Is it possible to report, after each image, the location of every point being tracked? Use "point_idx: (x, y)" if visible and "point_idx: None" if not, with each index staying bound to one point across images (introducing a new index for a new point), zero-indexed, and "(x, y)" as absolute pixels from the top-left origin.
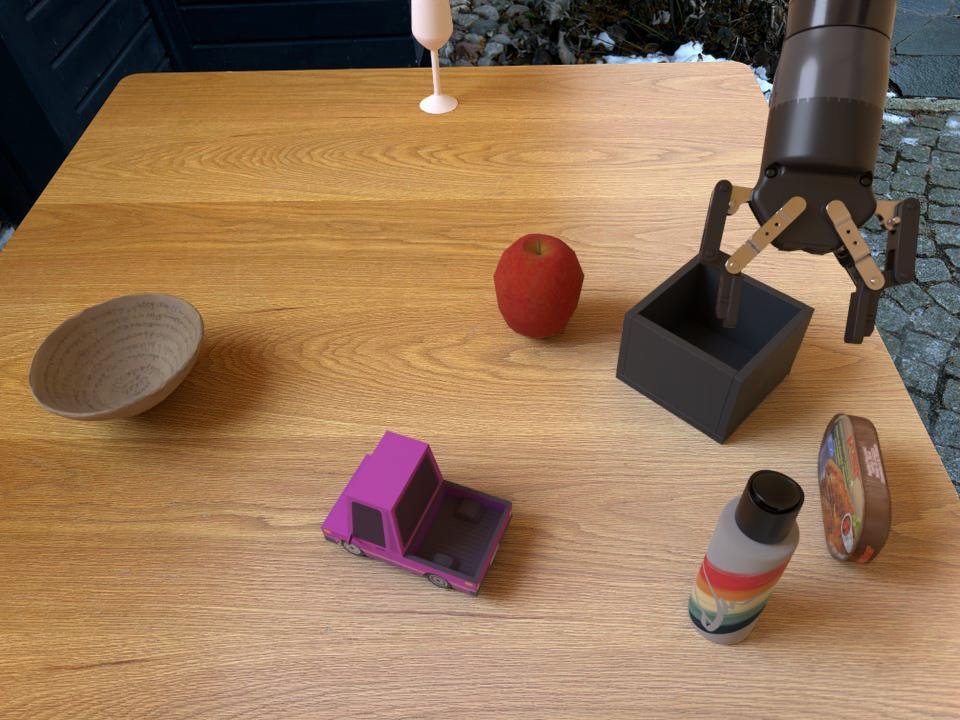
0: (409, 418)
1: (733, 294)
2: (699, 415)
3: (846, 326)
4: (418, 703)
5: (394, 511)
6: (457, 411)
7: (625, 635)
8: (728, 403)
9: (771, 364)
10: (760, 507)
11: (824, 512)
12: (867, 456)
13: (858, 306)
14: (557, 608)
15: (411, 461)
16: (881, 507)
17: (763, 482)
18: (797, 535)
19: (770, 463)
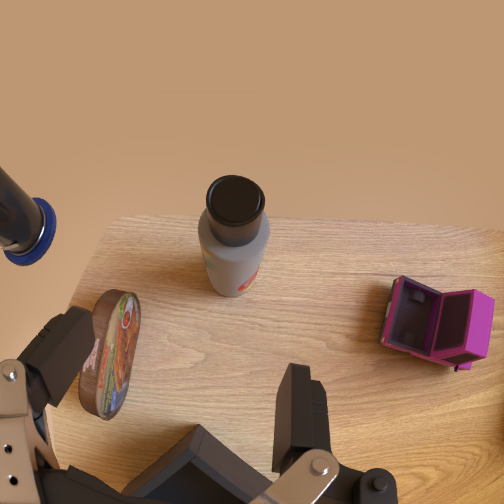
0: (437, 422)
1: (308, 409)
2: (218, 445)
3: (83, 361)
4: (406, 226)
5: (470, 292)
6: (408, 436)
7: (298, 261)
8: (198, 441)
9: (149, 475)
10: (255, 184)
11: (133, 352)
12: (93, 359)
13: (55, 347)
14: (341, 280)
15: (471, 331)
16: (101, 308)
17: (246, 206)
18: (203, 215)
19: (161, 403)
